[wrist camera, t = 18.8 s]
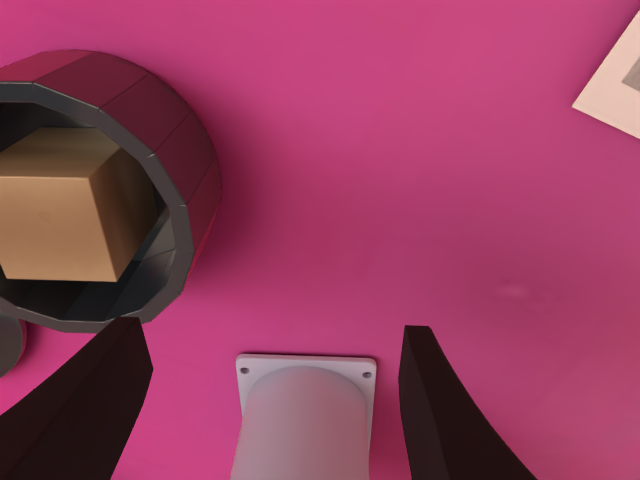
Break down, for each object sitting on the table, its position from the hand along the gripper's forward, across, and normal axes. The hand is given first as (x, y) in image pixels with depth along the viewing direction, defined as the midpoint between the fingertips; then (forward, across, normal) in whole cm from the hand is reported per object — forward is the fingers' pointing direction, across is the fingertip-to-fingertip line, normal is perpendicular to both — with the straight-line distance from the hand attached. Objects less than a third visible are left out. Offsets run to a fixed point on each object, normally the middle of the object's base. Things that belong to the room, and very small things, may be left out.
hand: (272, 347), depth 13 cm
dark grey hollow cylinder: (+10, +9, 0) cm, 14 cm away
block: (+10, +9, 0) cm, 13 cm away
